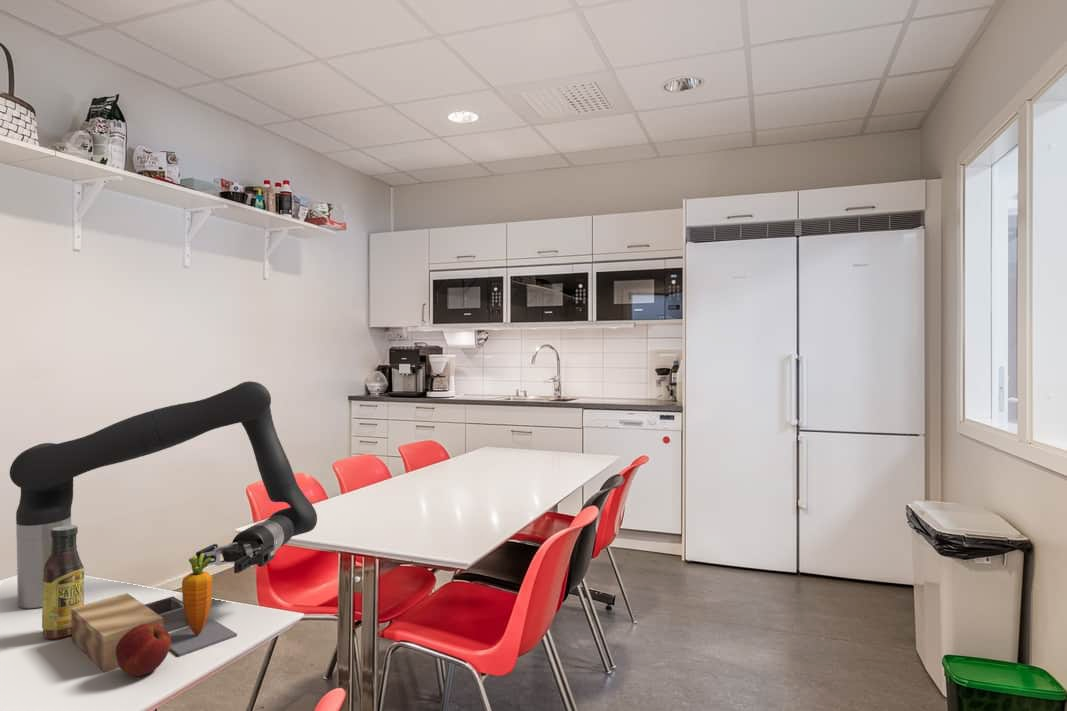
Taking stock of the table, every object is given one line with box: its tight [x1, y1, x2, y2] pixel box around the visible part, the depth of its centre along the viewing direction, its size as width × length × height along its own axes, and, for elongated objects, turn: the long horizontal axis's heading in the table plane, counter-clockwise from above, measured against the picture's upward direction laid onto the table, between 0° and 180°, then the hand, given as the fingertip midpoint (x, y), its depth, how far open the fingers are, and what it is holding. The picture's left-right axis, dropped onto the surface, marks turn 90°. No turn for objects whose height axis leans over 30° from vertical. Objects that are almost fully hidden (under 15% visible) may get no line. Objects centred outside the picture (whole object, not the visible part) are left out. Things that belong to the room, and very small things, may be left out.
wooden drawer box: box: [71, 592, 189, 673], centre depth 115 cm, size 18×16×6 cm
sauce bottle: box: [41, 524, 85, 640], centre depth 118 cm, size 7×6×20 cm
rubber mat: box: [169, 618, 238, 657], centre depth 115 cm, size 10×10×1 cm
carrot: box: [181, 553, 213, 636], centre depth 116 cm, size 5×5×15 cm
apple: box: [116, 623, 171, 677], centre depth 103 cm, size 7×8×8 cm
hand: (214, 567), depth 121 cm, fingers open, 8 cm apart
